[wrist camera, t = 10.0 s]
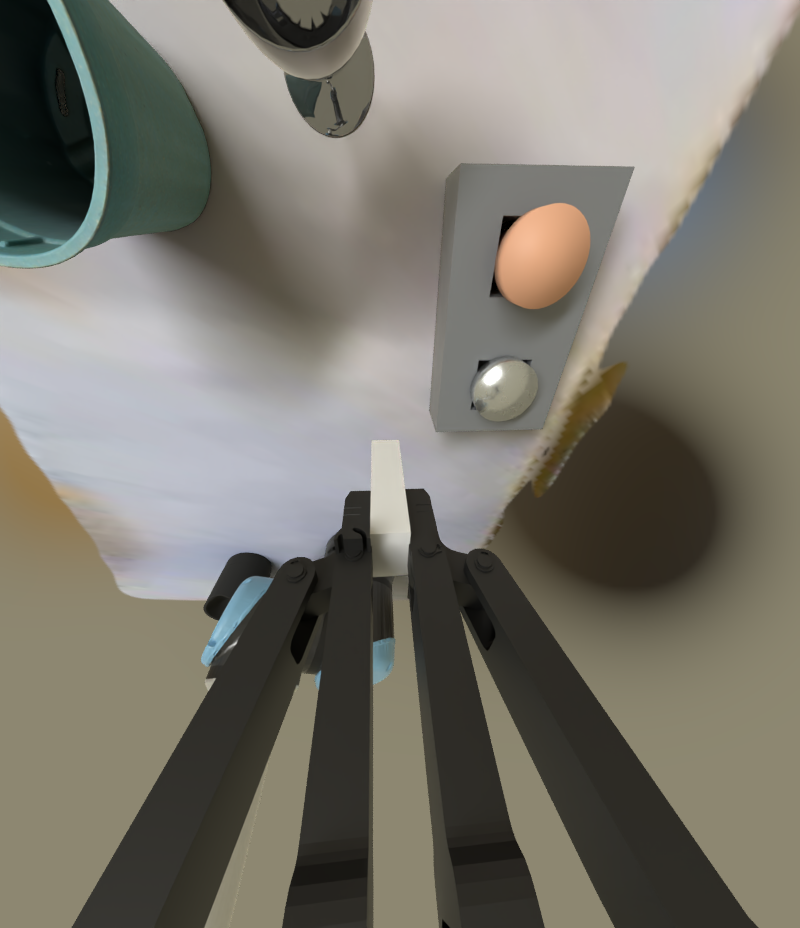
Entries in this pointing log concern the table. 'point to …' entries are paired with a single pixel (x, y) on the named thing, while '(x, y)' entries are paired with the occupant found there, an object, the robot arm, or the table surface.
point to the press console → (486, 311)
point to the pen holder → (234, 580)
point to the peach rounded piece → (542, 255)
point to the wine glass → (316, 55)
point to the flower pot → (90, 134)
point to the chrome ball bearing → (503, 388)
